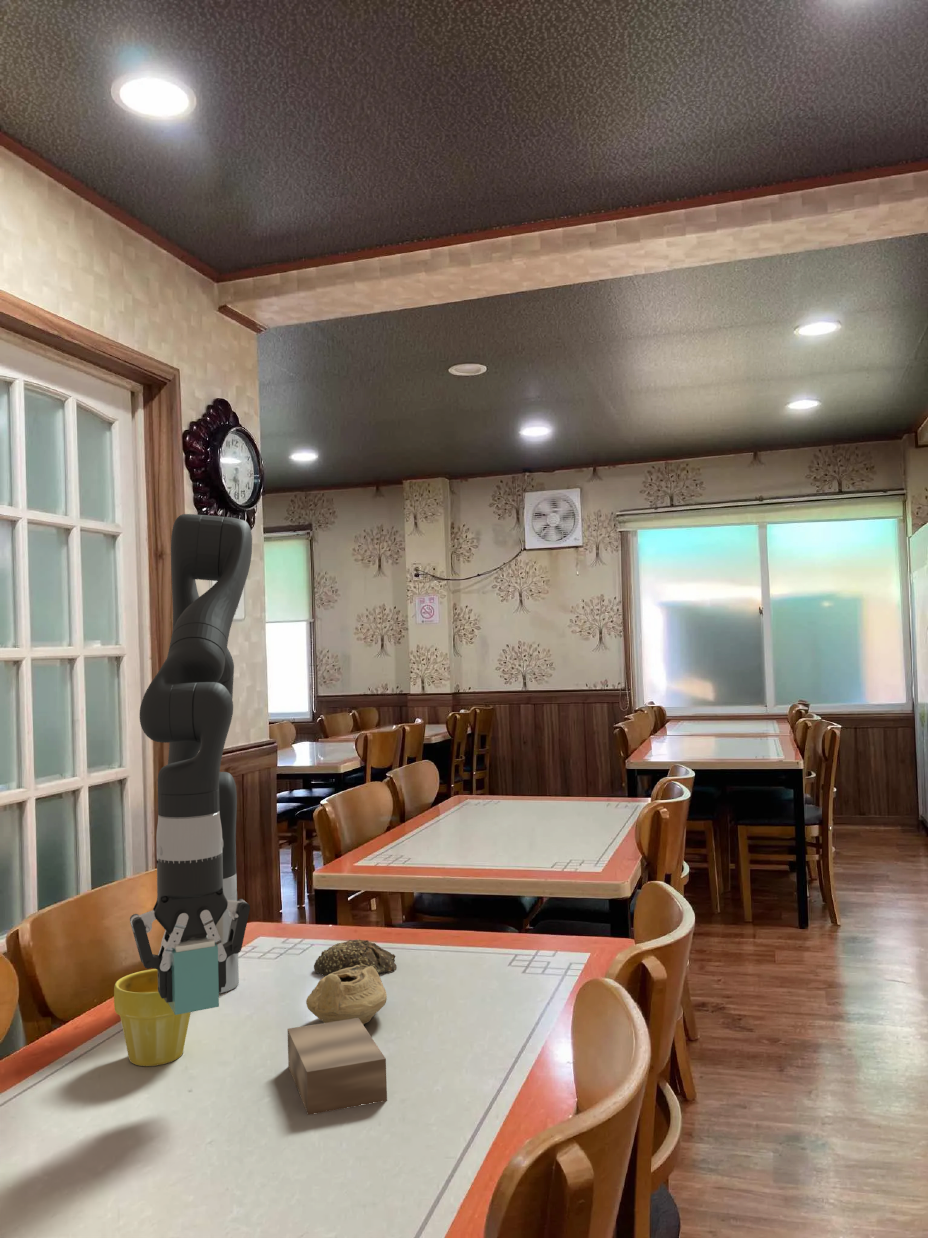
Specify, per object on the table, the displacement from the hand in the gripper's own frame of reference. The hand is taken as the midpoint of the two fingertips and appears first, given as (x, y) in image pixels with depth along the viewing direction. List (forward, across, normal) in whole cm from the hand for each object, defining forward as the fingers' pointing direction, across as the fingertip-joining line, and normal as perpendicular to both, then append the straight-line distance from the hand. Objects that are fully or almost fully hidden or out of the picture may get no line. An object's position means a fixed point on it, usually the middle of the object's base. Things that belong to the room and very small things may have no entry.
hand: (192, 995), depth 115 cm
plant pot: (+12, +2, -13) cm, 18 cm away
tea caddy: (+1, 0, 0) cm, 1 cm away
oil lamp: (+12, -24, -12) cm, 30 cm away
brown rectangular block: (+11, -15, +6) cm, 20 cm away
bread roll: (+13, -34, -34) cm, 49 cm away
